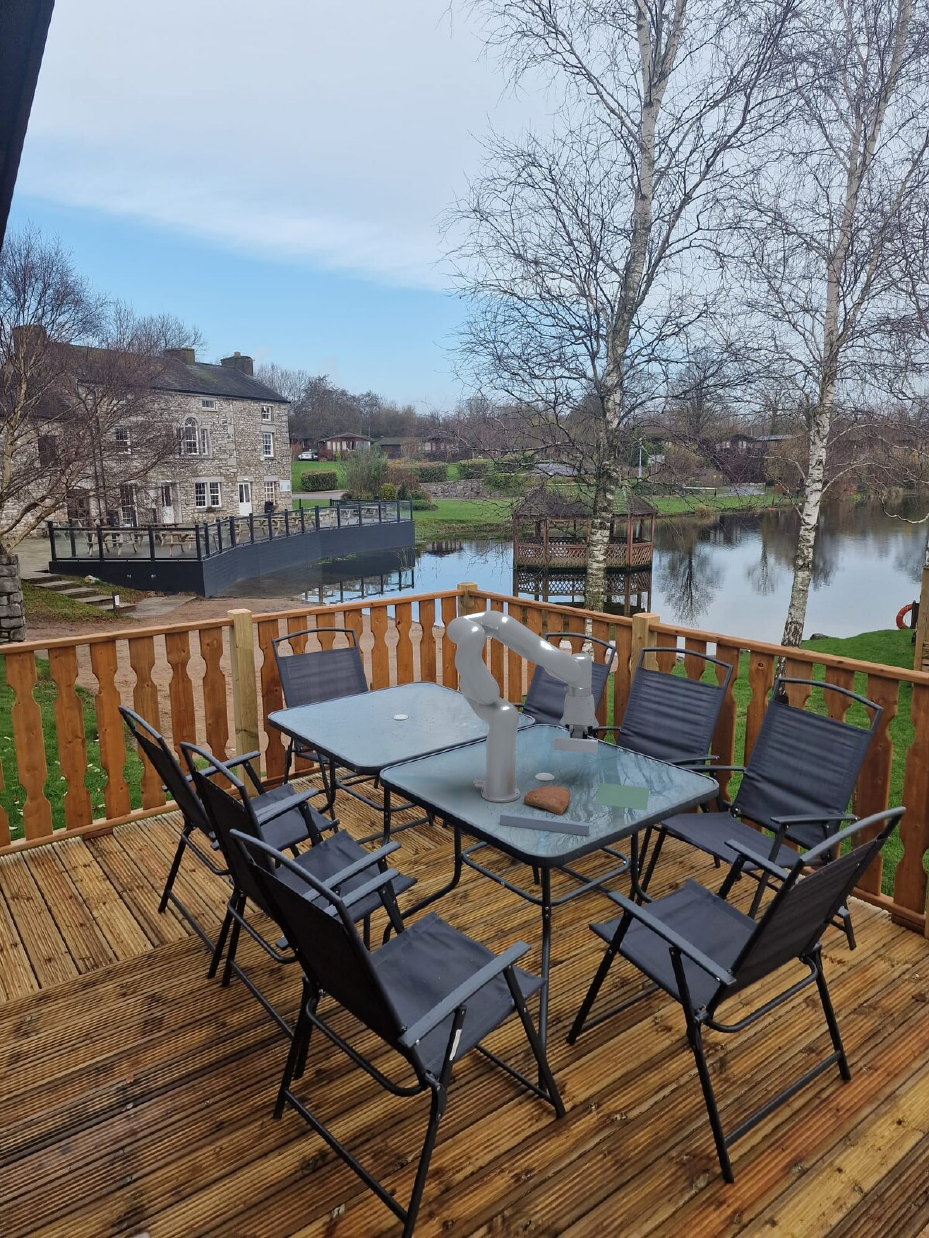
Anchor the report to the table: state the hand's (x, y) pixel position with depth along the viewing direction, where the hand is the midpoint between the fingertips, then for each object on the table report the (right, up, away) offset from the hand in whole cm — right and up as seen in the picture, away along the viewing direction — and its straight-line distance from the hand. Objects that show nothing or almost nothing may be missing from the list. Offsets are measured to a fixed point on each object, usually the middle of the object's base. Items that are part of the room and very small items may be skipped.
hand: (578, 743), depth 255 cm
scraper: (0, 0, 0) cm, 0 cm away
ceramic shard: (-10, -17, -16) cm, 25 cm away
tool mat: (+12, -16, -11) cm, 23 cm away
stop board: (-15, -20, -34) cm, 42 cm away
